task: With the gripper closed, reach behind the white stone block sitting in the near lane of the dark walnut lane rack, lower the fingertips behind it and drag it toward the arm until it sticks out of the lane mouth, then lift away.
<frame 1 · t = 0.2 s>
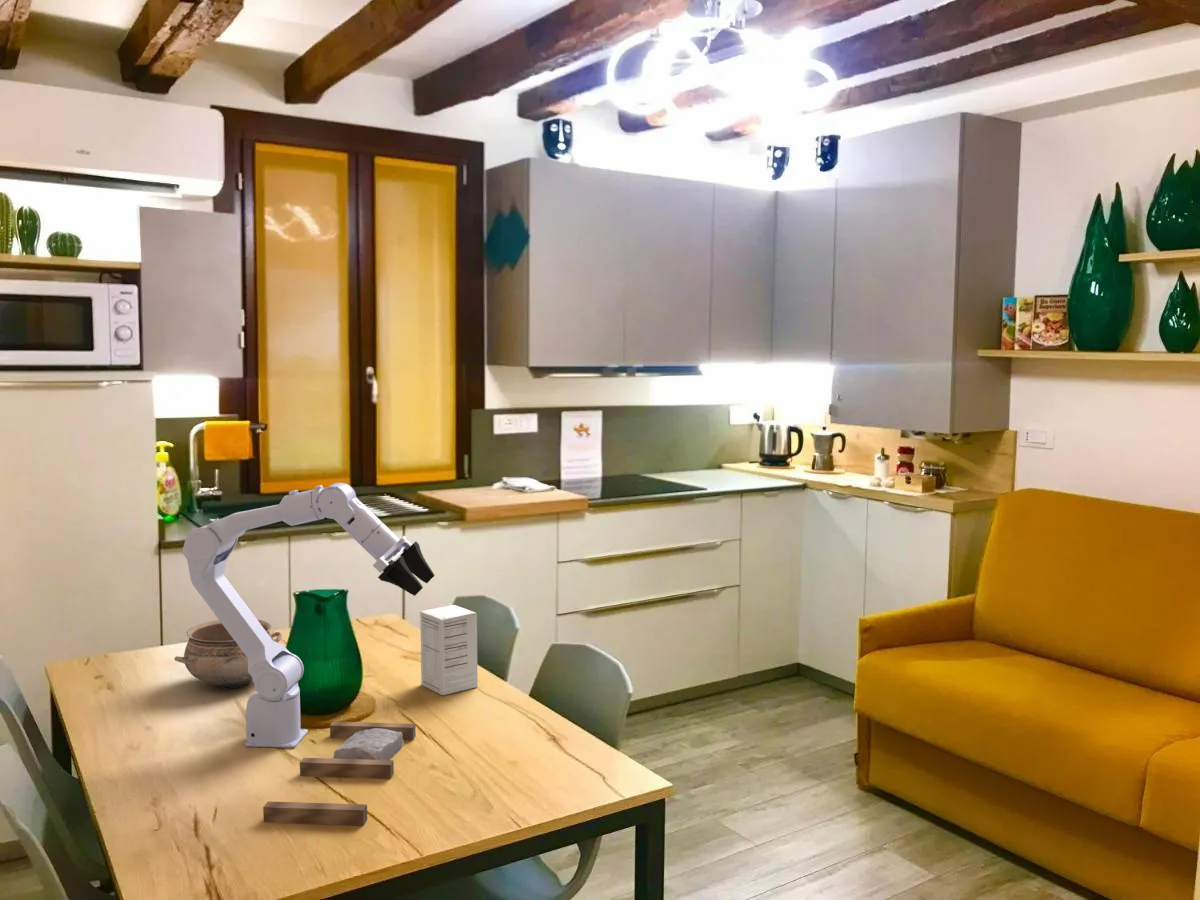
hand: (425, 585, 188), 31 cm above the table, tool tilted 45°, fingers open, 7 cm apart
supplement box: (449, 687, 224), on the table
stone block: (367, 758, 187), on the table
cooking pot: (231, 684, 224), on the table
lane rack: (347, 775, 178), on the table
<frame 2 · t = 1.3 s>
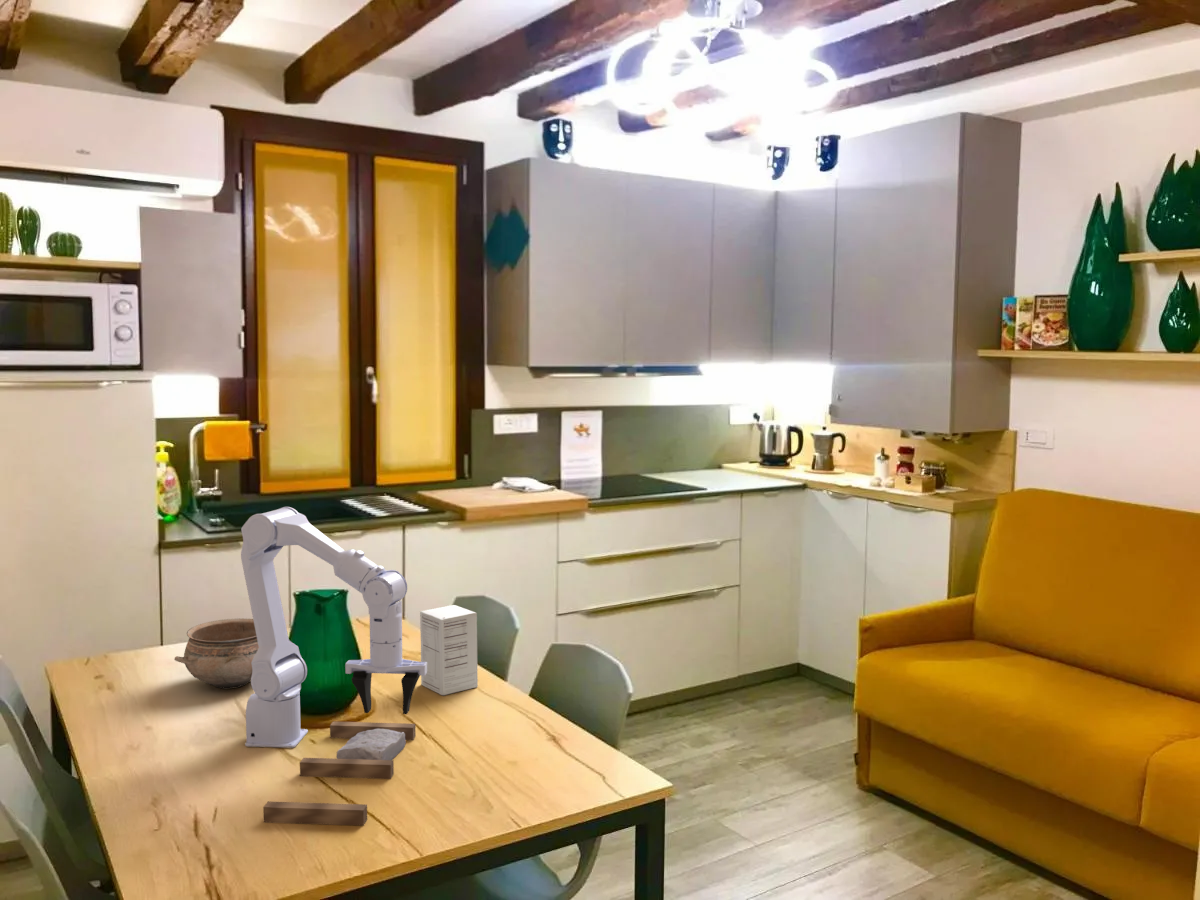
hand: (387, 711, 185), 8 cm above the table, tool pointing down, fingers open, 6 cm apart
nothing on the table moved.
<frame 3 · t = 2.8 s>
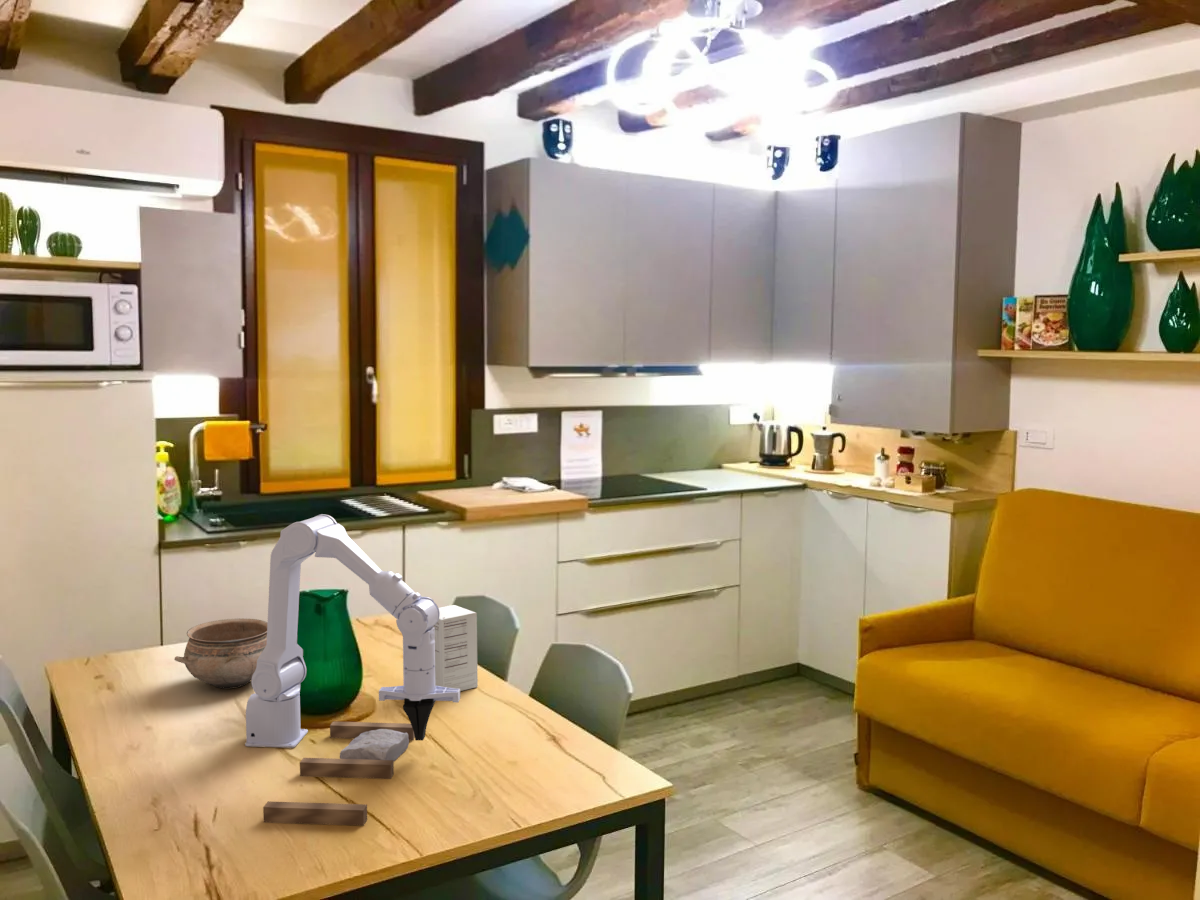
hand: (420, 738, 186), 4 cm above the table, tool pointing down, fingers closed
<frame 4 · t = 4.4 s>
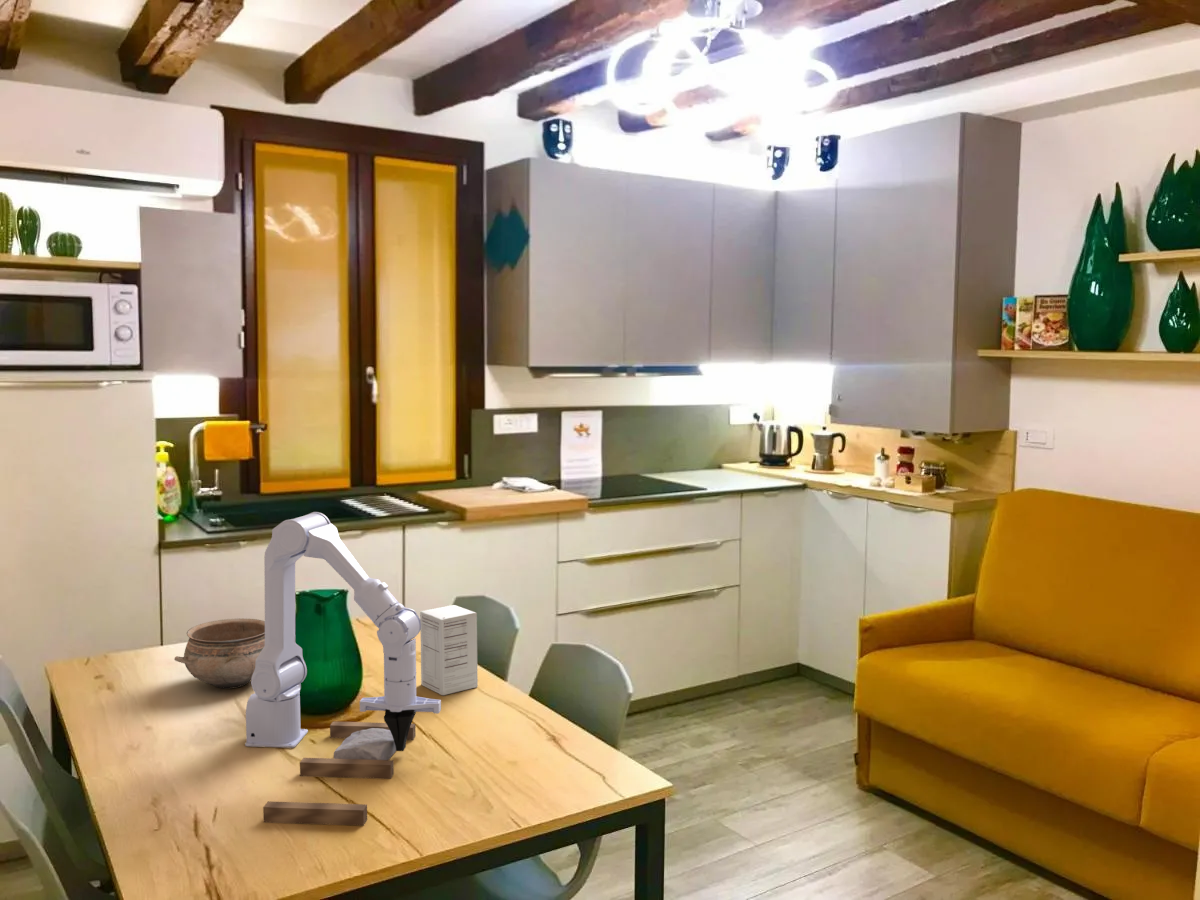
hand: (400, 749, 186), 1 cm above the table, tool pointing down, fingers closed
stone block: (366, 758, 186), on the table
everything else where it was.
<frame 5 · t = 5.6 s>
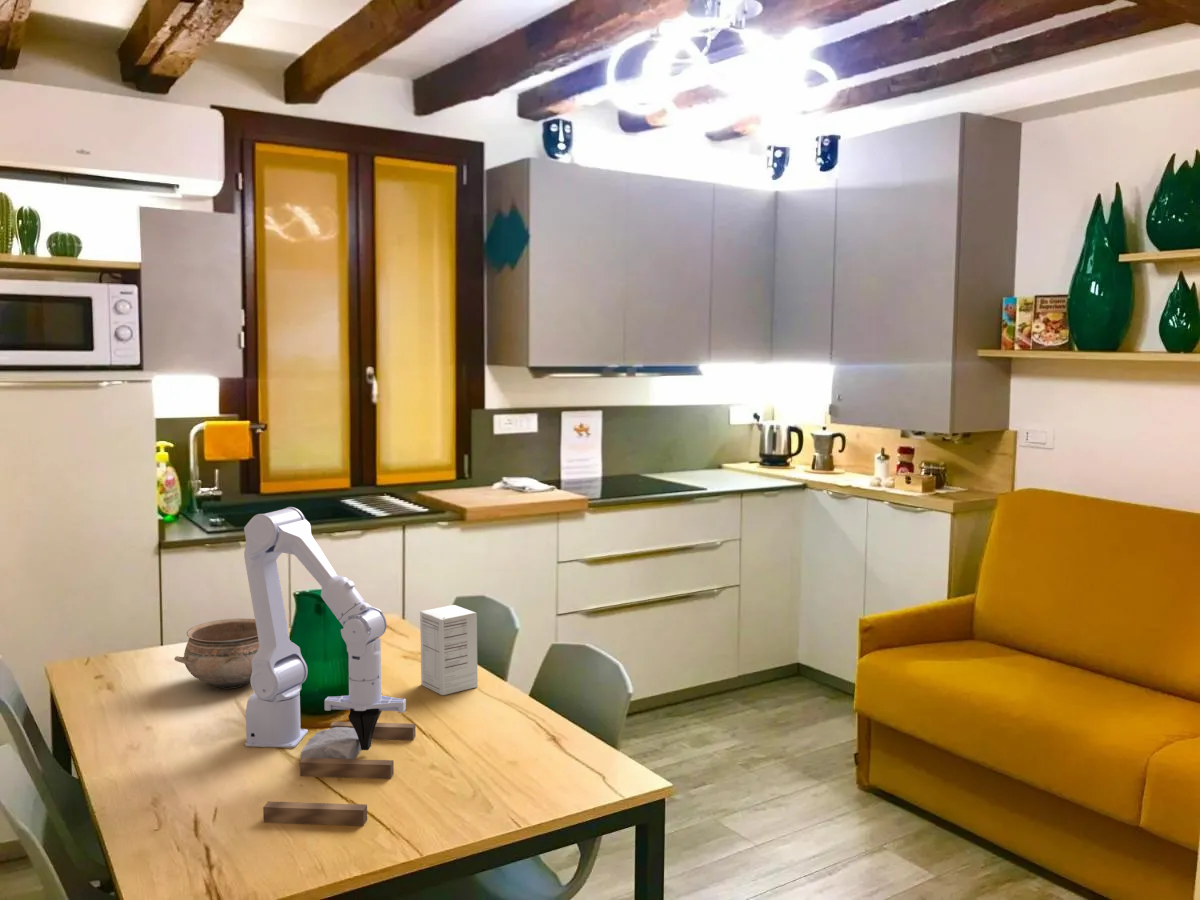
hand: (366, 748, 186), 1 cm above the table, tool pointing down, fingers closed
stone block: (332, 757, 186), on the table, touching gripper
everything else where it was.
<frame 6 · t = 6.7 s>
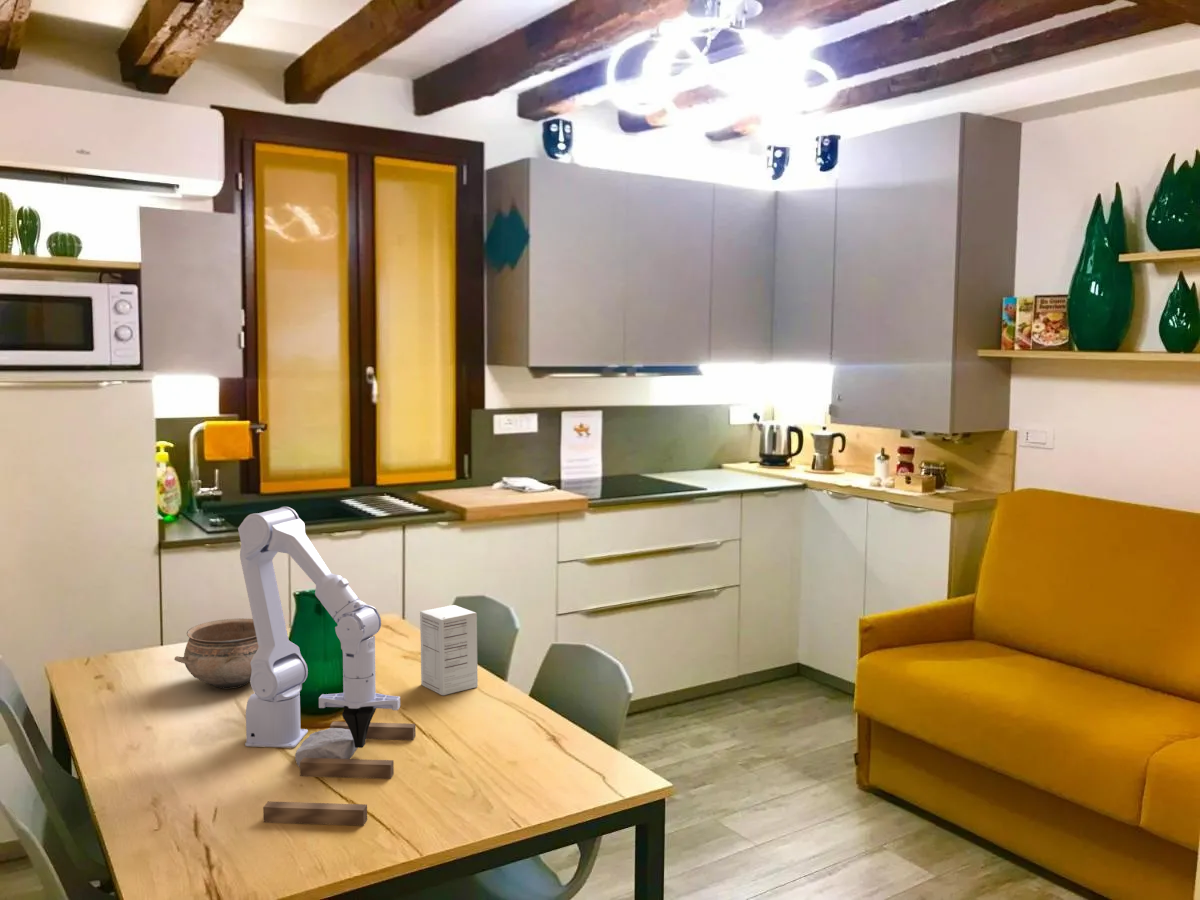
hand: (360, 745, 186), 2 cm above the table, tool pointing down, fingers closed
stone block: (326, 758, 186), on the table
everything else where it was.
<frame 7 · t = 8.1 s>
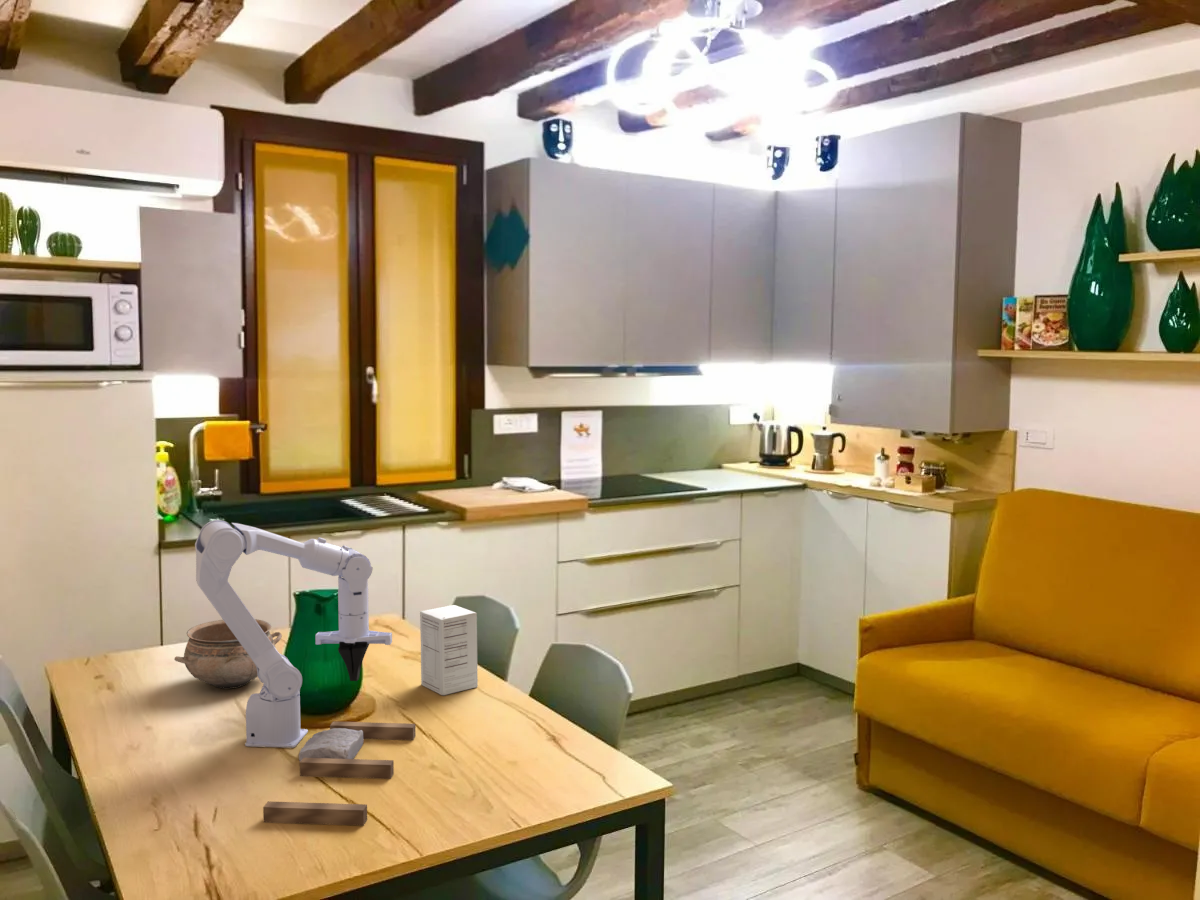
hand: (354, 679, 200), 9 cm above the table, tool pointing down, fingers closed
nothing on the table moved.
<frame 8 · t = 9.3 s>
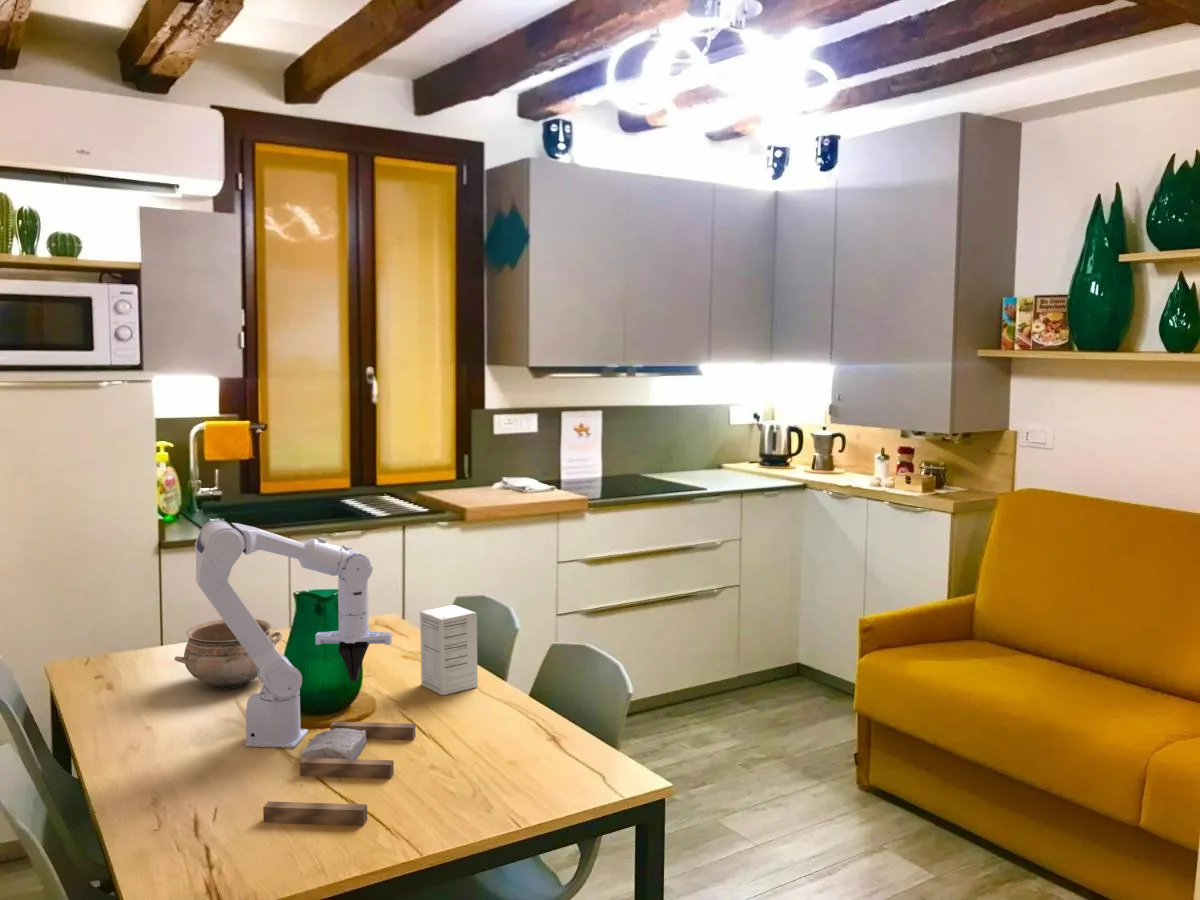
hand: (354, 679, 200), 9 cm above the table, tool pointing down, fingers closed
at the end: stone block moved 6.0 cm from its start; stone block inside the target area (2.7 cm from its centre), on the table; stone block tilted 0° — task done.
